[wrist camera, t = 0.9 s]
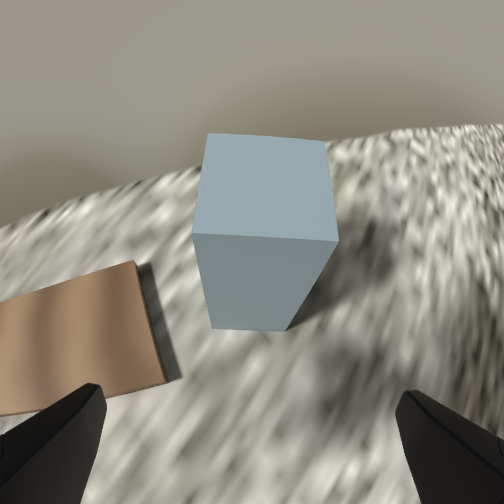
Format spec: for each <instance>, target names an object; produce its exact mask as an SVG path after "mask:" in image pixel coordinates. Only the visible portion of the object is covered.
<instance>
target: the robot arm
mask: <svg viewBox="0 0 504 504" xmlns="http://www.w3.org/2000/svg"><path fill="white" fill-rule="evenodd" d="M106 412H107V404H106V400H105V397H104V393H103V390H102V387H101V386H100V385H99V384H95V383H86V384H84V385H82V386H81V387H79V388H78V389H76V390H74V391H73V392H71V393H70V394H68V395H66V396H65V397H63V398H62V399H60V400H58V401H57V402H55V403H53V404H52V405H50V406H49V407H47V408H45V409H44V410H42V411H40V412H39V413H37V414H35V415H34V416H32V417H30V418H29V419H27V420H26V421H24V422H22V423H21V424H19V425H17V426H16V427H14V428H12V429H11V430H9V431H7V432H6V433H5V435H4V434H2V435H0V504H80V503H81V499H82V496H83V493H84V490H85V487H86V484H87V481H88V478H89V475H90V472H91V469H92V466H93V463H94V460H95V457H96V454H97V451H98V447H99V442H100V438H101V433H102V429H103V424H104V420H105V416H106ZM395 416H396V420H397V424H398V428H399V432H400V437H401V441H402V445H403V449H404V453H405V456H406V460H407V462H408V465H409V468H410V471H411V474H412V477H413V480H414V483H415V486H416V489H417V492H418V495H419V498H420V501H421V504H504V440H503V439H501V438H499V437H497V436H496V435H494V434H492V433H490V432H489V431H487V430H485V429H483V428H482V427H480V426H478V425H476V424H475V423H473V422H471V421H469V420H468V419H466V418H464V417H462V416H461V415H459V414H457V413H456V412H454V411H452V410H450V409H449V408H447V407H445V406H444V405H442V404H440V403H439V402H437V401H435V400H434V399H432V398H430V397H429V396H427V395H425V394H424V393H422V392H420V391H419V390H416V389H412V390H406V391H404V392H403V394H402V396H401V398H400V401H399V403H398V406H397V408H396V412H395Z"/></svg>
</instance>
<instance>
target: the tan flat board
mask: <svg viewBox="0 0 504 504" xmlns="http://www.w3.org/2000/svg"><path fill="white" fill-rule="evenodd" d="M86 383H95V384H99V385H100V386H101V387H102V390H103V393H104V397H105V399H106V398H110V397H115V396H119V395H123V394H127V393H132V392H136V391H140V390H144V389H147V388H151V387H155V386H159V385H162V384H166V383H168V380H167V377H166V374H165V371H164V368H163V364H162V361H161V357H160V354H159V351H158V347H157V344H156V340H155V336H154V333H153V329H152V325H151V321H150V318H149V314H148V310H147V306H146V302H145V297H144V293H143V289H142V285H141V280H140V276H139V271H138V267H137V265H136V263H135V262H134V260H131V261H128V262H125V263H122V264H118V265H115V266H112V267H109V268H106V269H102V270H99V271H96V272H93V273H90V274H86V275H83V276H80V277H77V278H74V279H71V280H68V281H65V282H61V283H58V284H55V285H52V286H49V287H46V288H43V289H40V290H37V291H34V292H31V293H28V294H25V295H22V296H19V297H16V298H13V299H10V300H7V301H4V302H1V303H0V417H2V416H10V415H18V414H25V413H32V412H38V411H42V410H44V409H45V408H47V407H49V406H50V405H52V404H53V403H55V402H57V401H58V400H60V399H62V398H63V397H65V396H66V395H68V394H70V393H71V392H73V391H74V390H76V389H78V388H79V387H81V386H82V385H84V384H86Z"/></svg>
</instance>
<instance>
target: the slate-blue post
mask: <svg viewBox="0 0 504 504" xmlns="http://www.w3.org/2000/svg"><path fill="white" fill-rule="evenodd" d="M192 238H193V243H194V248H195V253H196V257H197V262H198V267H199V272H200V276H201V281H202V286H203V290H204V295H205V299H206V304H207V308H208V313H209V317H210V321H211V325H212V328H215V329H232V330H254V331H284V332H285V330H286V329H287V327H288V326H289V324H290V322H291V321H292V319H293V318H294V316H295V314H296V313H297V311H298V310H299V308H300V306H301V305H302V303H303V302H304V300H305V298H306V297H307V295H308V293H309V292H310V290H311V288H312V287H313V285H314V283H315V282H316V280H317V278H318V277H319V275H320V273H321V272H322V270H323V268H324V267H325V265H326V263H327V261H328V260H329V258H330V256H331V255H332V253H333V251H334V249H335V248H336V246H337V244H338V242H339V236H338V228H337V220H336V213H335V205H334V198H333V192H332V185H331V178H330V172H329V166H328V160H327V154H326V149H325V143H324V142H322V141H313V140H304V139H294V138H283V137H271V136H257V135H256V136H255V135H239V134H215V133H209V134H208V137H207V143H206V148H205V154H204V159H203V164H202V170H201V176H200V182H199V188H198V194H197V200H196V207H195V213H194V220H193V227H192Z"/></svg>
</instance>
